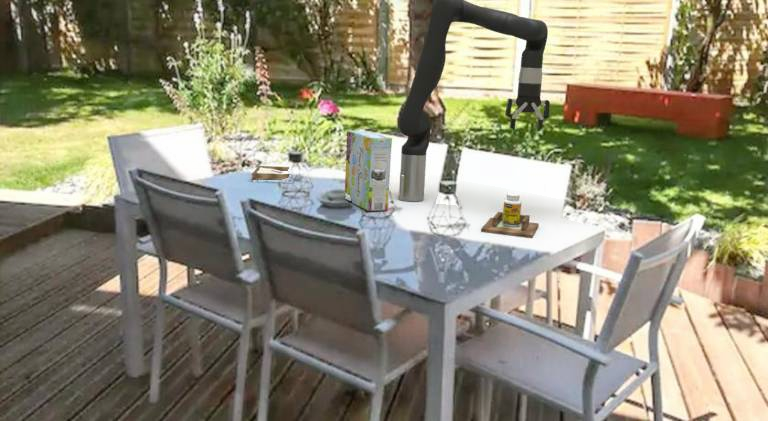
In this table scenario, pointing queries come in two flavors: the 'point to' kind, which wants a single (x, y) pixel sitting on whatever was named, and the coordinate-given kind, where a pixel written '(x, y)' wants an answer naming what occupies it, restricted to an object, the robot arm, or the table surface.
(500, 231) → the brown wooden square frame
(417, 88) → the robot arm
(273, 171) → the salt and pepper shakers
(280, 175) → the tray
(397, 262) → the table surface
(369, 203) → the snack box
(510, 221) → the supplement bottle
